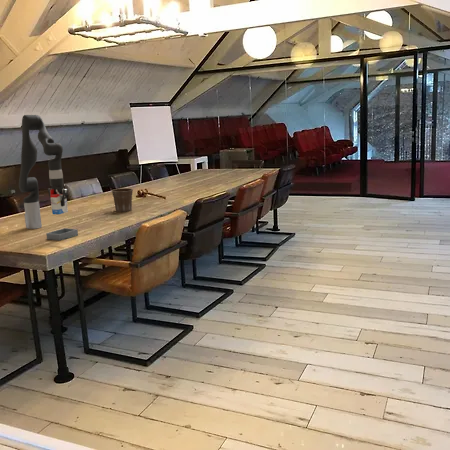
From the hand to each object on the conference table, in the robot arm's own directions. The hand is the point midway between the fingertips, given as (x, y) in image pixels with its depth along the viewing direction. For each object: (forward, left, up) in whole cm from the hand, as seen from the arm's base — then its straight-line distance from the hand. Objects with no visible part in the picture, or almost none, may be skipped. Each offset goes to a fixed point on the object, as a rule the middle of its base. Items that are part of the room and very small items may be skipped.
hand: (59, 205), depth 290 cm
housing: (0, 0, -19) cm, 19 cm away
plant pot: (-21, +83, -19) cm, 88 cm away
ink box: (0, 0, -5) cm, 5 cm away
